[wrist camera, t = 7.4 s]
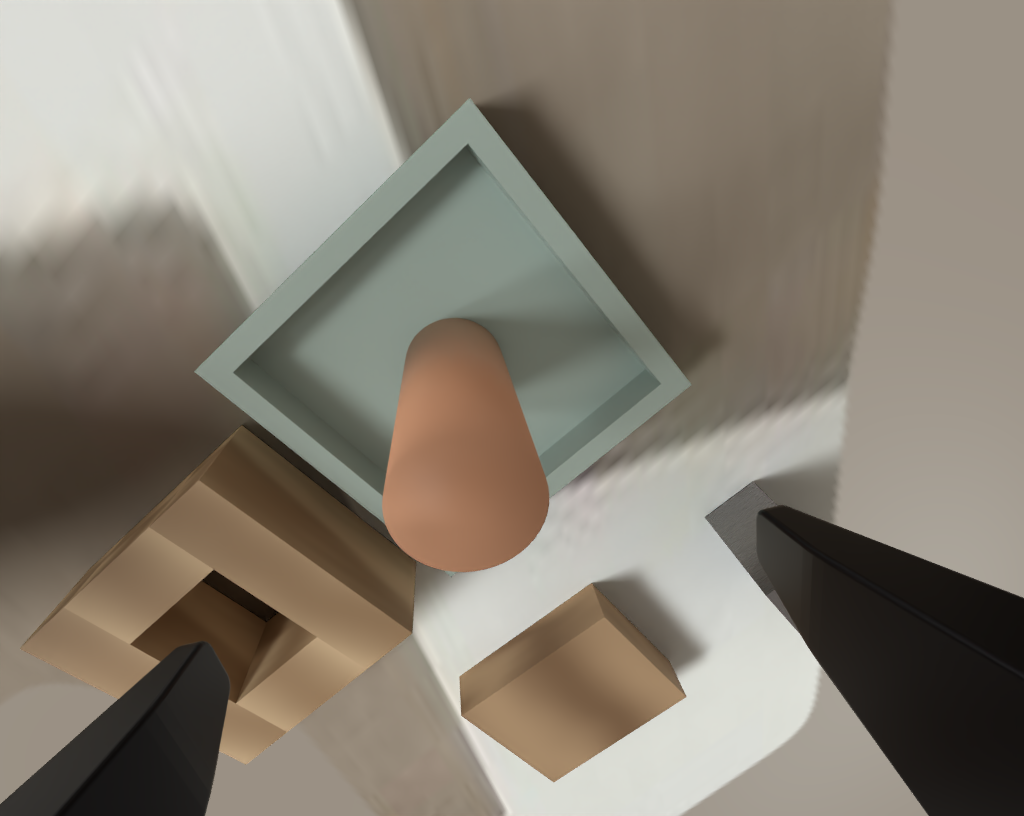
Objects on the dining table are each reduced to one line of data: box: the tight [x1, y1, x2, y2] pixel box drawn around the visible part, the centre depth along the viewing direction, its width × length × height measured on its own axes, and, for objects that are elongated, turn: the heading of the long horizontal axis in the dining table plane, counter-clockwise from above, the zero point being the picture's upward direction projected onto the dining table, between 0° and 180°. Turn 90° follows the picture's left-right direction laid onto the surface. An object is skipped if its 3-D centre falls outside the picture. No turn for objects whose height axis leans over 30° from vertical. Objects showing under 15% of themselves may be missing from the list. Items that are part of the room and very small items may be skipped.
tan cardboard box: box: [460, 583, 686, 782], centre depth 27 cm, size 8×7×2 cm
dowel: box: [382, 318, 549, 572], centre depth 16 cm, size 4×4×9 cm
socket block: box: [20, 425, 416, 764], centre depth 21 cm, size 9×9×4 cm
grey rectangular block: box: [705, 482, 799, 632], centre depth 23 cm, size 3×5×5 cm, turn 41°
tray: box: [194, 98, 691, 577], centre depth 19 cm, size 12×12×2 cm
